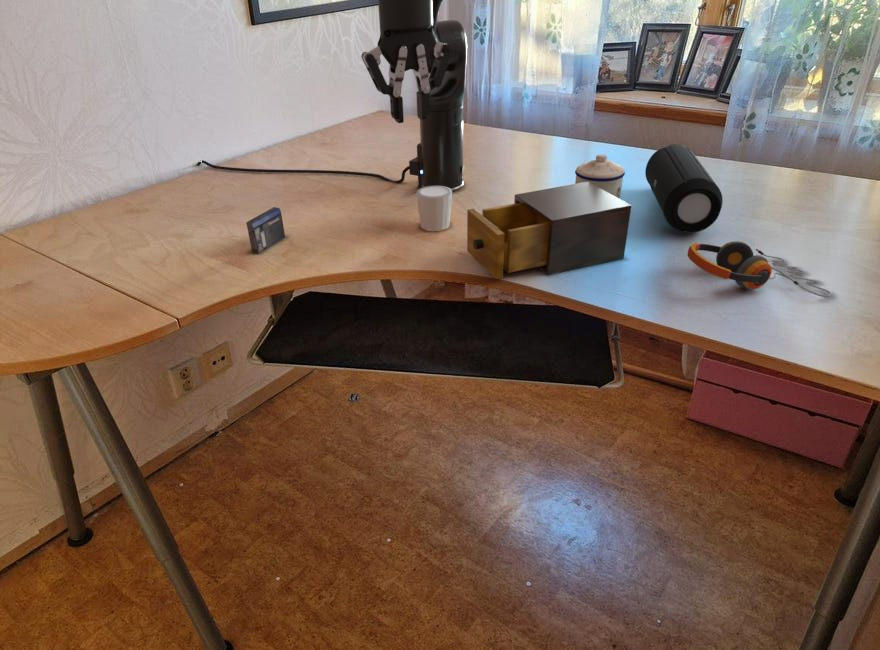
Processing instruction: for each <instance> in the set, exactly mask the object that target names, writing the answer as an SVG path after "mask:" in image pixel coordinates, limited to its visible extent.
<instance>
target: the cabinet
mask: <svg viewBox="0 0 880 650" xmlns="http://www.w3.org/2000/svg"><path fill="white" fill-rule="evenodd" d="M513 201H514V202H513V204H516V203H521V204H523V205H524V206H526V207H527V208H528V209H530V210H531V211H533V212H534V213H536V214H537V215H538V216H540V217H541V218H543V219H544V220H546V221H547V222H548V223H550V227H549V240H548V252H547V265H543V266H539V267H538V268H539V269H540V270H541V271H543V272H544V273H545V275H548V276H549V275H554V274H559V273H563V272H564V273H565V272H569V271H572V270H578V269H582V268H586V267H592V266H596V265H600V264H606V263H611V262H616V261H620V260H624V258H625V252H626V246H627V239H628V232H629V225H630V220H631V212H632V205H631V204H629V203H628V202H626V201H625V200H623V199H621V198H620V199H619V198H617V197H615V196H613V195H612V194H610V193H608V192H606V191H604V190H602V189H601V188H599V187H597V186H595V185H593V184H591V183H590V182H583V183H577V184H575V183H573V184H565V185H559V186H556V187H555V186H554V187H550V188H545V189H544V188H543V189H539V190H533V191H527V192H522V193H516V194H514V199H513Z"/></svg>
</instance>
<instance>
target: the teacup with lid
mask: <svg viewBox="0 0 880 650" xmlns="http://www.w3.org/2000/svg"><path fill="white" fill-rule="evenodd" d="M575 168H576V169H575V171H574V173H575V183H574V184H577V183H583V182H590V183H591V184H593V185H595V186H597V187H599V188H601V189H602V190H604V191H606V192H608V193H610V194H612V195H613V196H615V197H617V198H619V199H621V193H622V186H623V180H624V177H625V174H626V172H625V169H624V167H623V166H622V165H620V164H618V163H616V162H613V161H612V160H611V159H608V156H607V155H606V154H603V153H599V154H596V155H595V159H591V160H589V161H586V162H583V163H581V164H579V165H577V167H575Z"/></svg>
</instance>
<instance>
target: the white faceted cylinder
mask: <svg viewBox="0 0 880 650" xmlns="http://www.w3.org/2000/svg"><path fill="white" fill-rule="evenodd" d="M452 198H453V192H452V190H451V189H450V188H448V187H445V186H428V187H424V188H419V189H418V190H416V199H417V207H418V215H419V222H420V228H421V229H422V230H424V231H427V232H441V231H445V230H447V229H448V228H449V227H450V224H451V223H450V222H451V213H452V212H451V211H452Z"/></svg>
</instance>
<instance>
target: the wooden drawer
mask: <svg viewBox="0 0 880 650" xmlns="http://www.w3.org/2000/svg"><path fill="white" fill-rule="evenodd" d="M466 212H467V214H466V215H467V216H466V217H467V219H466V220H467V222H466V223H467V227H466V228H467V230H466V231H467V232H466V235H467V237H466V238H467V239H466V240H467V241H466V249H467V250H466V251H467V253H468V254H469V255H470V256H472V257H473V258H474V259H475V261H477V262H478V263H479V264H480V265H481V266H482V267H483V268H484V269H485V270H486V271H487V272H488V273H490V275H491V276H492V277H493V278H495V279H496V280H499V279H503V278H504V271H506V273H508V274H510V273H514V272H519V271H524V270H528V269H533V268H539V266H543V265H547V252H548V240H549V227H550V223H548V222H547V221H546V220H544V219H543V218H541V217H540V216H538V215H537V214H536V213H534V212H533V211H531V210H530V209H528V208H527V207H526V206H524V205H523V204H521V203H516V204H514V203H510V204H505V205H500V206H496V207H488V208H484V209H482V212H481V213H480V212H478V211H477V210H476V209H475V208H468V209H467V210H466Z"/></svg>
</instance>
